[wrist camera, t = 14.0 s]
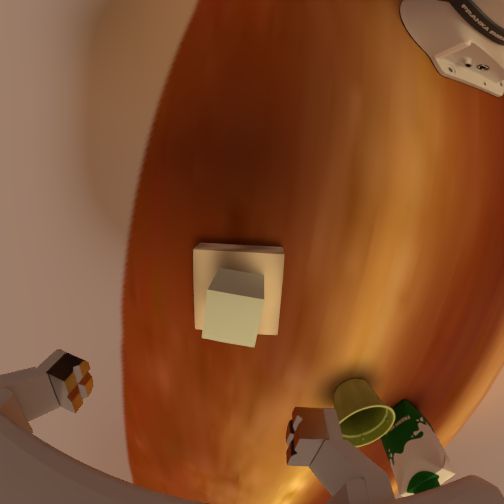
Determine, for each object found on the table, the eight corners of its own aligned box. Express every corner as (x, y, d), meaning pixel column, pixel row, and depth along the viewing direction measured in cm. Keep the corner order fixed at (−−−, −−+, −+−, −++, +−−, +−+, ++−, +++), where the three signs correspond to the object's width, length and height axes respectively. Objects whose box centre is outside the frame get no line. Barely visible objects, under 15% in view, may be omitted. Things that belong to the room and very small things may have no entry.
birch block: (282, 246, 34) (284, 254, 30) (276, 319, 36) (277, 335, 33) (201, 241, 34) (193, 249, 31) (201, 314, 37) (195, 329, 33)
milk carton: (406, 393, 39) (450, 475, 19) (424, 409, 40) (464, 480, 20) (368, 422, 41) (397, 507, 21) (390, 435, 42) (419, 509, 22)
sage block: (264, 275, 31) (264, 299, 24) (256, 315, 32) (254, 347, 25) (219, 267, 31) (207, 289, 24) (213, 308, 32) (201, 337, 25)
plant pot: (313, 387, 39) (321, 427, 30) (368, 359, 37) (387, 395, 29) (335, 418, 40) (344, 454, 32) (384, 393, 39) (400, 427, 30)
